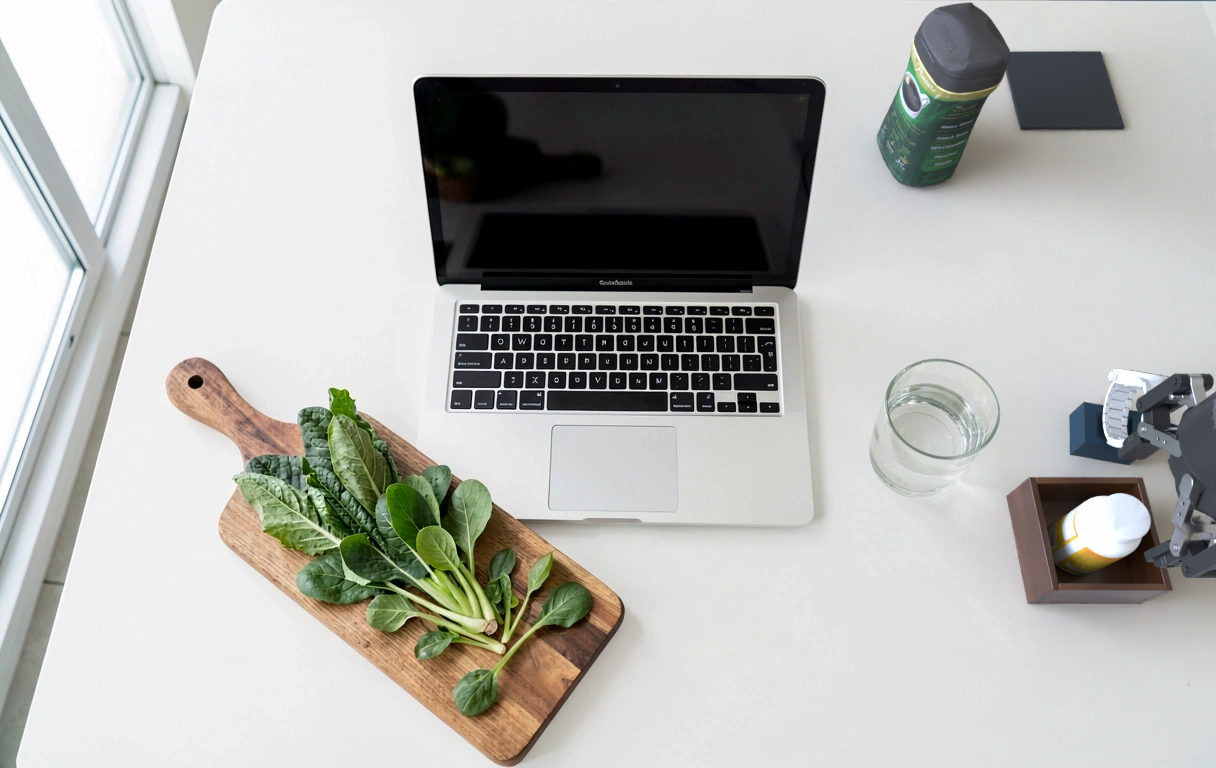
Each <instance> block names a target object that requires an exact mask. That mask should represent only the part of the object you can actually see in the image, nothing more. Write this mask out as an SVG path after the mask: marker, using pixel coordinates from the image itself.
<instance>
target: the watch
mask: <svg viewBox="0 0 1216 768" xmlns="http://www.w3.org/2000/svg"><path fill="white" fill-rule="evenodd" d="M1169 377H1170V376H1168V375H1164V374H1158V373H1154V372H1147V371H1140V370H1134V369H1126V368H1113V371H1110V372H1109V373H1108V380H1109V382H1110V383H1111V384H1110V386H1109V388H1108V390H1107V394H1106V395H1105V399H1104V404H1099V403H1093V402H1088V401H1083V402H1082V403H1081V404H1080V405H1079V406H1078V407H1076V408H1075V409H1074V410H1073V411H1072V412H1071V413H1070V414H1069V416H1068V417H1069V419H1068V420H1069V421H1068V422H1069V456H1074V457H1075V456H1076V457H1081V458H1087V459H1092V460H1097V461H1102V462H1108V463H1114V464H1118V465H1124V466H1131V464H1133V463H1134V462H1136V461H1137V460H1120V459H1119V455H1118V450H1119V449H1120V448H1121V447H1123V445H1122V443H1123V441H1124V440H1125V439H1126V438H1127V437H1129V436H1130V435H1131V434H1132V433H1134V432H1135V431H1136V430H1137V428H1138V424H1139V423H1140V422H1143V413H1139V412H1138V411H1137V410H1133V409H1130V408H1131V406H1132V403H1133V400H1134V398H1135V395H1136V394H1137V392H1138V390H1143V395H1144V394H1145V393H1147V392H1148V391H1150V390H1151V389H1153V388H1154V387H1156V386H1157V385H1158V384H1160V383H1161V382H1163V381H1164V380H1166V379H1167V378H1169ZM1172 414H1173V413H1170V420H1171V418H1172Z"/></svg>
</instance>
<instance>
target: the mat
mask: <svg viewBox="0 0 1216 768" xmlns="http://www.w3.org/2000/svg"><path fill="white" fill-rule="evenodd" d="M1005 75H1006V77H1007V78H1006V79H1007V81H1008V86H1009V90H1010V94H1011V99H1012V102H1013V106H1014V110H1015V113H1016V117H1017V122H1018V125H1019V126H1018V127H1019V130H1020V131H1021V130H1024V131H1025V130H1027V131H1029V130H1030V131H1031V130H1032V131H1033V130H1034V131H1035V130H1036V131H1037V130H1038V131H1039V130H1040V131H1041V130H1044V131H1045V130H1051V131H1052V130H1053V131H1054V130H1064V131H1065V130H1067V131H1068V130H1078V131H1079V130H1085V131H1087V130H1088V131H1089V130H1094V131H1095V130H1098V131H1099V130H1100V131H1101V130H1102V131H1103V130H1124V129H1125V127H1126V126H1125V123H1124V120H1123V117H1122V114H1121V111H1120V107H1119V105H1118V101H1117V98H1116V95H1115V91H1114V88H1113V85H1112V82H1111V79H1110V76H1109V73H1108V70H1107V66H1106V63H1105V60H1104V57H1103V54H1102V51H1101V50H1097V51H1096V50H1094V51H1093V50H1092V51H1091V50H1090V51H1087V50H1085V51H1084V50H1082V51H1081V50H1080V51H1079V50H1078V51H1077V50H1074V51H1072V50H1071V51H1070V50H1069V51H1067V50H1066V51H1065V50H1064V51H1062V50H1061V51H1059V50H1058V51H1051V50H1050V51H1045V50H1044V51H1043V50H1042V51H1040V50H1039V51H1037V50H1036V51H1035V50H1034V51H1031V50H1030V51H1026V50H1025V51H1023V50H1022V51H1019V50H1018V51H1016V50H1015V51H1010V60H1009V63H1008V65H1007V68H1006V71H1005Z"/></svg>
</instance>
